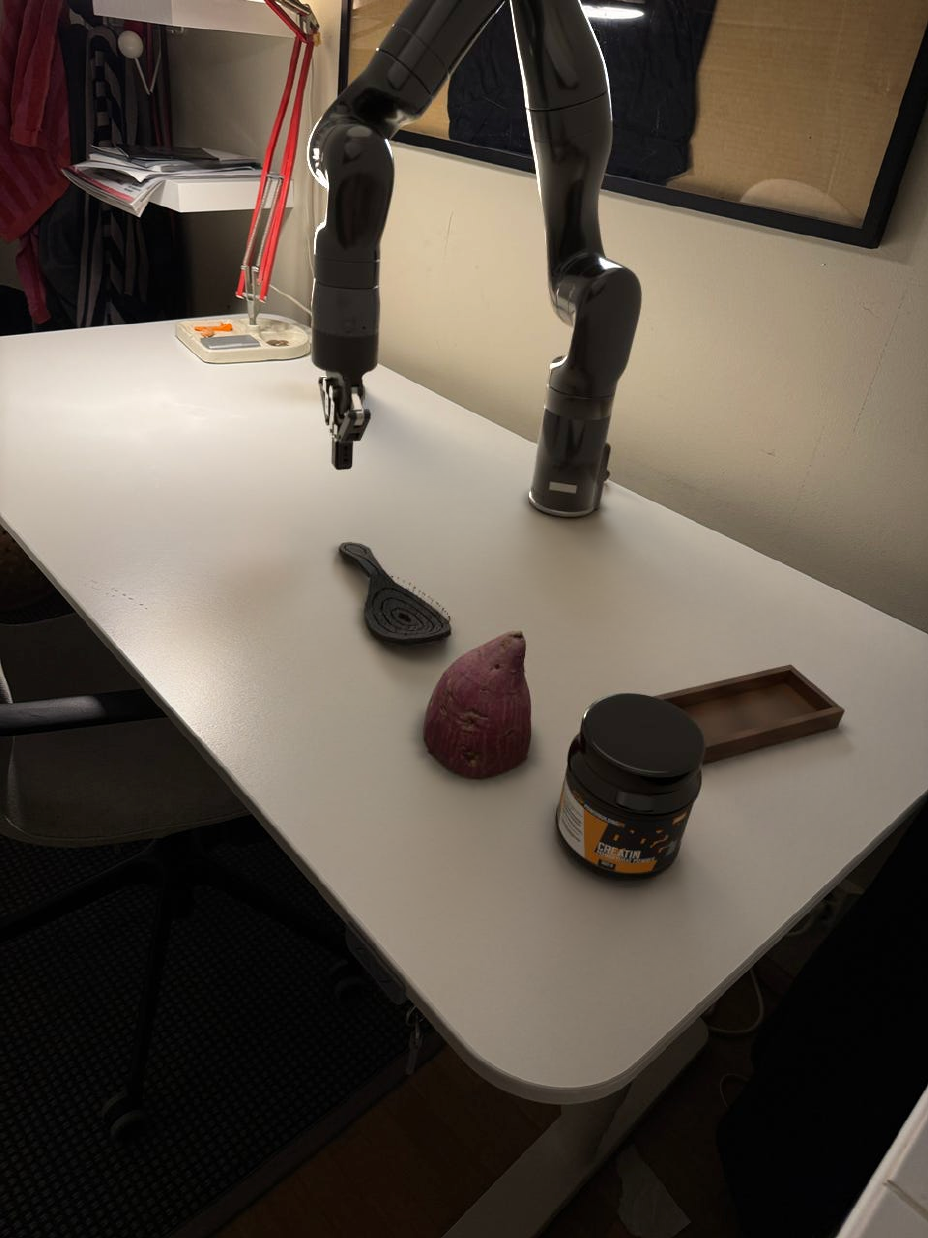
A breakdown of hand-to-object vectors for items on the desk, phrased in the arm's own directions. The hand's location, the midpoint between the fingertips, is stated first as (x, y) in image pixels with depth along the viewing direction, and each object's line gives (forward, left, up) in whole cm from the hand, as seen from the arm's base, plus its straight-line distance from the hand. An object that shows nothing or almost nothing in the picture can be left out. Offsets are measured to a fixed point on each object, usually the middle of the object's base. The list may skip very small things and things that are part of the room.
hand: (341, 466), depth 108 cm
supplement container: (-6, +56, -10) cm, 57 cm away
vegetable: (0, +41, -10) cm, 42 cm away
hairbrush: (0, +16, -10) cm, 19 cm away
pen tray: (-27, +47, -9) cm, 55 cm away
